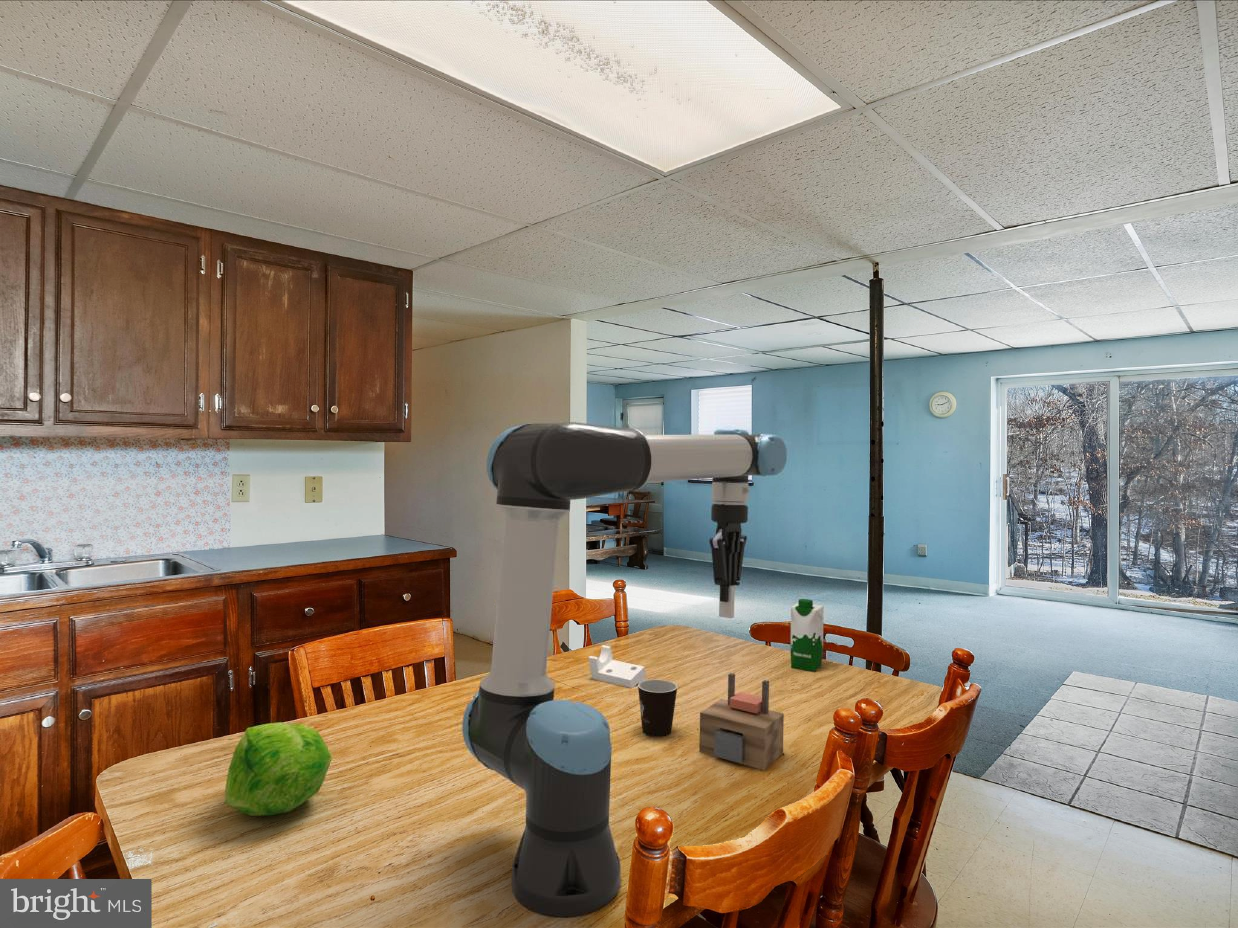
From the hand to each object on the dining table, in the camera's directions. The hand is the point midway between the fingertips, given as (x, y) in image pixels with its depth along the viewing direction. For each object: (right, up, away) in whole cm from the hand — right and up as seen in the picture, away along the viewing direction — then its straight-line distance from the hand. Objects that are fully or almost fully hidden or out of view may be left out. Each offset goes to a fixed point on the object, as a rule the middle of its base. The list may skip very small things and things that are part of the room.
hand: (726, 616), depth 138 cm
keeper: (+5, -19, +1) cm, 19 cm away
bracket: (-23, -27, +42) cm, 55 cm away
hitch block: (+3, -27, -2) cm, 27 cm away
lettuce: (-80, -26, -26) cm, 88 cm away
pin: (+3, -27, -1) cm, 27 cm away
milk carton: (+33, -28, +57) cm, 72 cm away
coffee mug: (-14, -27, +9) cm, 32 cm away
